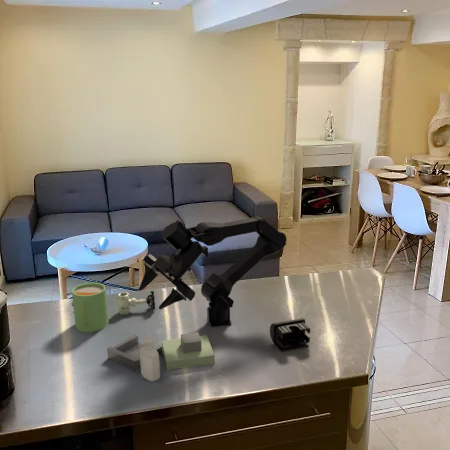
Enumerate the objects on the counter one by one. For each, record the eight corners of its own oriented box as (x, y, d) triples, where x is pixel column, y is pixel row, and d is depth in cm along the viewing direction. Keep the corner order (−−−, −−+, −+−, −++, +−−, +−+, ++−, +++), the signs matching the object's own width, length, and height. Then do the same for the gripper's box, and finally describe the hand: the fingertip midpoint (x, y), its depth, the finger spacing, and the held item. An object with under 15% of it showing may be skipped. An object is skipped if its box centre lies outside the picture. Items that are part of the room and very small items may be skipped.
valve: (118, 317, 159) (155, 313, 161) (117, 299, 157) (154, 295, 159) (118, 308, 165) (153, 304, 168) (116, 290, 163) (152, 287, 166)
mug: (80, 316, 160) (76, 282, 156) (112, 316, 159) (109, 282, 156) (67, 335, 147) (62, 299, 144) (101, 336, 147) (98, 299, 144)
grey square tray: (135, 342, 143) (134, 333, 143) (162, 354, 137) (162, 344, 136) (108, 358, 136) (107, 348, 135) (135, 371, 129) (134, 361, 128)
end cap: (299, 334, 147) (300, 314, 145) (310, 346, 141) (312, 325, 139) (269, 340, 144) (269, 320, 142) (279, 352, 138) (280, 331, 136)
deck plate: (206, 342, 143) (206, 326, 141) (214, 363, 133) (214, 345, 131) (162, 348, 140) (161, 331, 138) (166, 369, 130) (166, 351, 128)
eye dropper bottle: (143, 384, 124) (141, 342, 120) (140, 372, 129) (137, 331, 125) (160, 381, 125) (158, 339, 122) (157, 369, 130) (154, 328, 127)
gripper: (153, 230, 141) (116, 271, 139) (197, 265, 132) (158, 310, 129) (168, 246, 151) (134, 284, 148) (210, 279, 141) (174, 321, 139)
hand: (149, 299), depth 141 cm, fingers open, 9 cm apart
